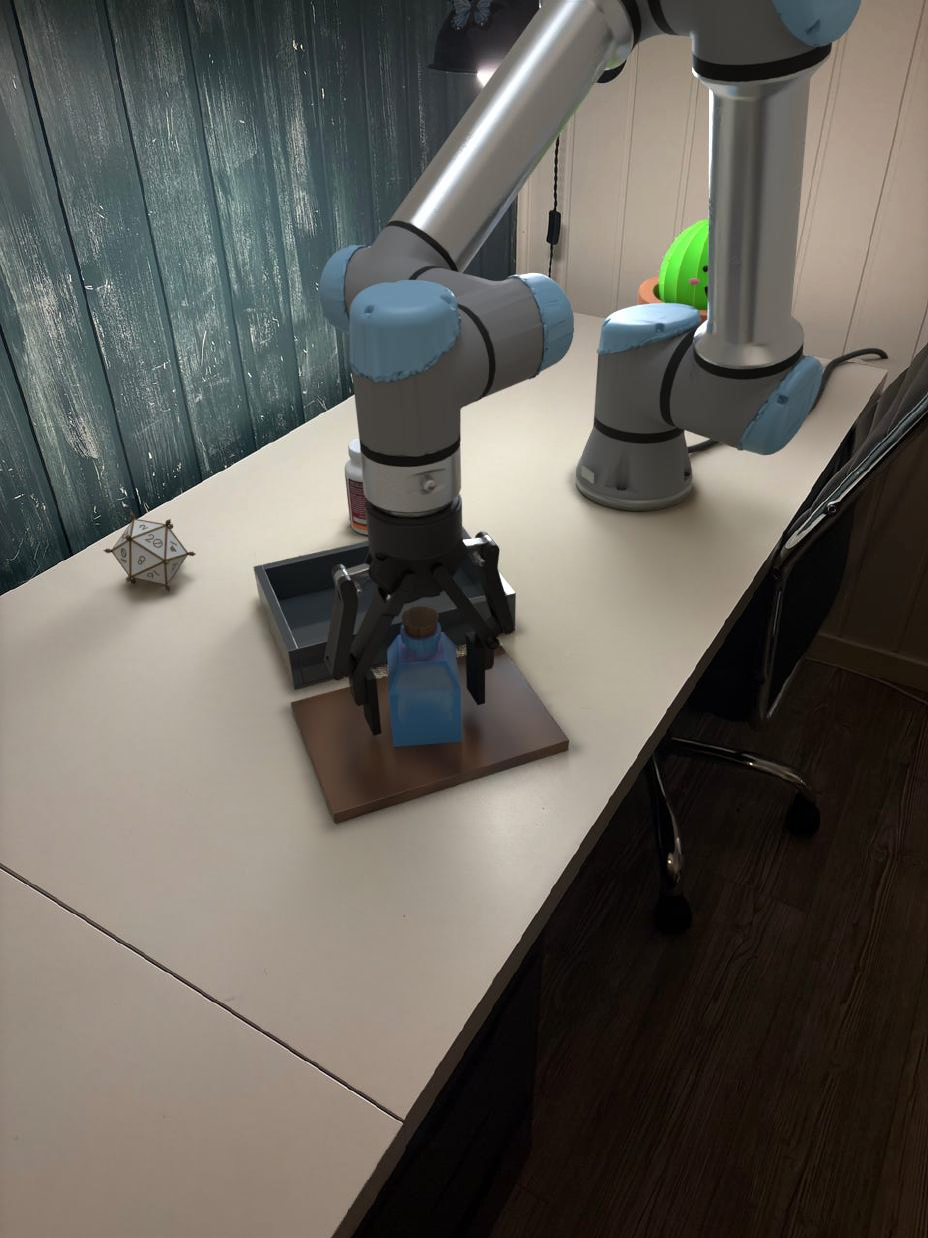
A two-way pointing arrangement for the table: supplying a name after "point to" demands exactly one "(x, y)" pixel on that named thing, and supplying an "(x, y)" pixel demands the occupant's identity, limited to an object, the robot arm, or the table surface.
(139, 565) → the game die
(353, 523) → the pill bottle
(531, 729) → the board
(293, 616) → the tray
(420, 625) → the perfume bottle
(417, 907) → the table surface
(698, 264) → the potted cactus
